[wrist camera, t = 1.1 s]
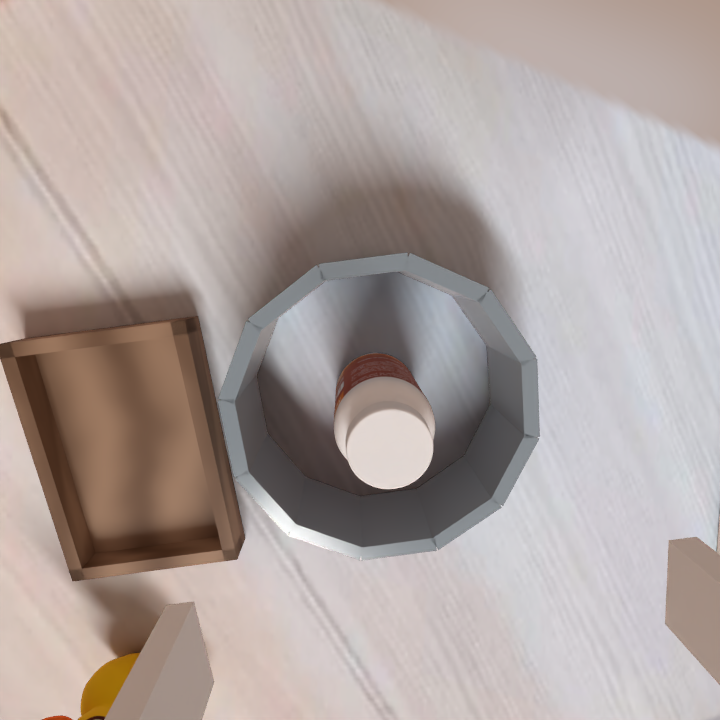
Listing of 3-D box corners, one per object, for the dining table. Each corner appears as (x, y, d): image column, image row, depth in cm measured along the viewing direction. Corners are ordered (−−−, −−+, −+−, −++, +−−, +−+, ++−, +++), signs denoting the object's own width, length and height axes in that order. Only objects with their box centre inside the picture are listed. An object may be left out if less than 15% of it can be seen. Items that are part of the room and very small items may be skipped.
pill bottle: (326, 362, 32) (316, 410, 21) (403, 342, 32) (433, 379, 21) (347, 435, 33) (348, 515, 22) (421, 415, 33) (458, 486, 22)
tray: (92, 558, 35) (72, 581, 32) (24, 338, 31) (-5, 344, 28) (245, 538, 35) (237, 559, 32) (198, 316, 31) (184, 320, 28)
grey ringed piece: (271, 518, 35) (254, 574, 28) (224, 277, 30) (192, 280, 24) (507, 487, 35) (543, 536, 28) (494, 243, 30) (533, 236, 24)
